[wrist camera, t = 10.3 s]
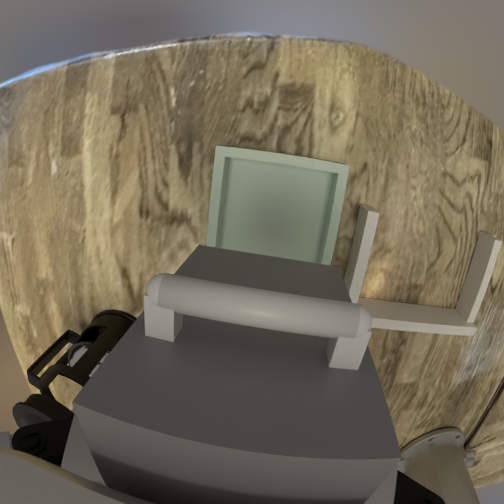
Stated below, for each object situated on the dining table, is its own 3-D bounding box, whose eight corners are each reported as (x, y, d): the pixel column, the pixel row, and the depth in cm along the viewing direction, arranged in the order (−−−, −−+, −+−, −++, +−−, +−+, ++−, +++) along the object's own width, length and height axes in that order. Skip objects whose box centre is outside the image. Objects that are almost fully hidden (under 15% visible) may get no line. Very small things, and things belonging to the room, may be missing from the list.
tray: (343, 163, 26) (349, 165, 24) (313, 311, 31) (315, 327, 28) (223, 145, 27) (216, 145, 24) (208, 295, 32) (201, 309, 29)
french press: (170, 331, 34) (71, 508, 12) (157, 385, 37) (83, 536, 15) (82, 291, 34) (-53, 414, 12) (79, 348, 37) (-20, 468, 15)
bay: (486, 232, 27) (507, 244, 23) (458, 317, 30) (473, 335, 26) (360, 204, 27) (371, 213, 24) (337, 303, 31) (343, 324, 27)
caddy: (345, 232, 11) (440, 400, 3) (294, 419, 14) (288, 571, 6) (202, 210, 11) (53, 337, 3) (191, 402, 14) (139, 545, 6)
